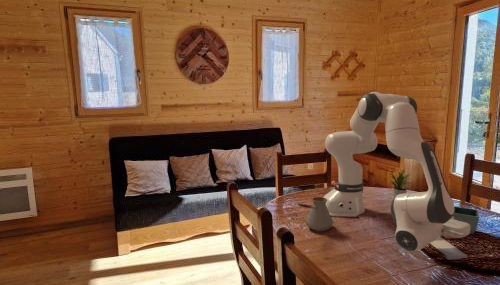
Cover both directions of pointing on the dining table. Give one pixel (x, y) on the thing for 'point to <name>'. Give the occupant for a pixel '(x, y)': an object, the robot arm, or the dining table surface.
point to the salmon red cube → (448, 236)
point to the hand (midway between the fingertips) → (444, 216)
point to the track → (448, 249)
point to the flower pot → (467, 217)
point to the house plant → (399, 183)
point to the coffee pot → (318, 215)
